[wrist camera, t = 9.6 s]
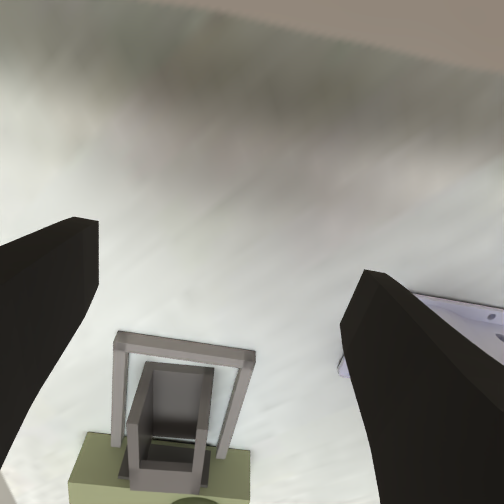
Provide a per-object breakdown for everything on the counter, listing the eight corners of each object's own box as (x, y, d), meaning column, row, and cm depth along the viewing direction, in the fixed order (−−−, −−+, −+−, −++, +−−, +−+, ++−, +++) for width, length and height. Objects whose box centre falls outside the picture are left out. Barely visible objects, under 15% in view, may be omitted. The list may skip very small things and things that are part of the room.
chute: (145, 360, 27) (126, 423, 22) (214, 366, 27) (207, 430, 23) (146, 426, 31) (130, 490, 26) (206, 430, 31) (199, 494, 27)
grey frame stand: (285, 355, 26) (292, 419, 22) (239, 480, 35) (237, 542, 31) (84, 325, 25) (50, 387, 20) (88, 464, 33) (65, 527, 29)
